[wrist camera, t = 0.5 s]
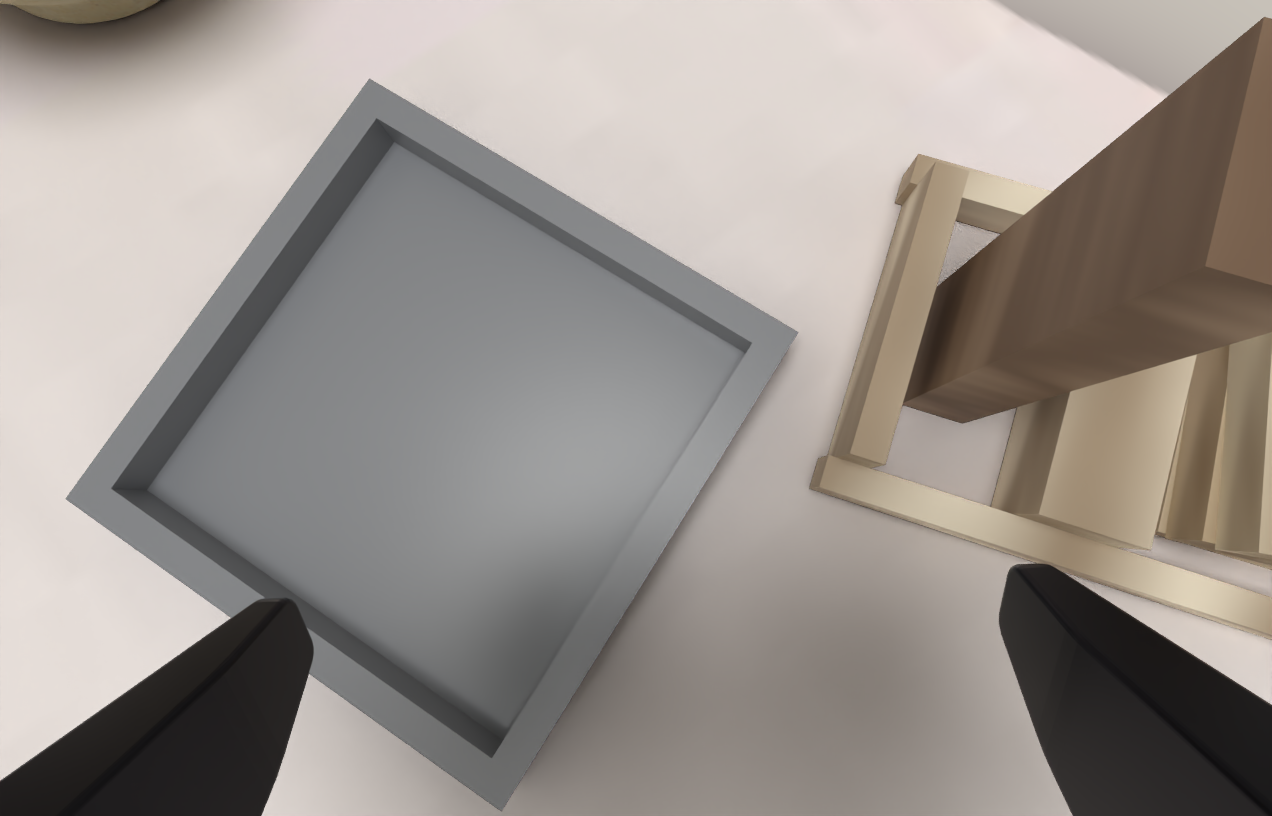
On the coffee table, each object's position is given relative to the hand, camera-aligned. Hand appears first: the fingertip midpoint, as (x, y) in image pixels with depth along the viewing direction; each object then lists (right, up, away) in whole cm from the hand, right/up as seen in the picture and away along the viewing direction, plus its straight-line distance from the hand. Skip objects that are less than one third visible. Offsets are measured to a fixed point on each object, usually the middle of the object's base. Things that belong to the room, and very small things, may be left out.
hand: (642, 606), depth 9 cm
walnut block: (+10, +4, +14) cm, 18 cm away
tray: (-6, +2, +14) cm, 16 cm away
